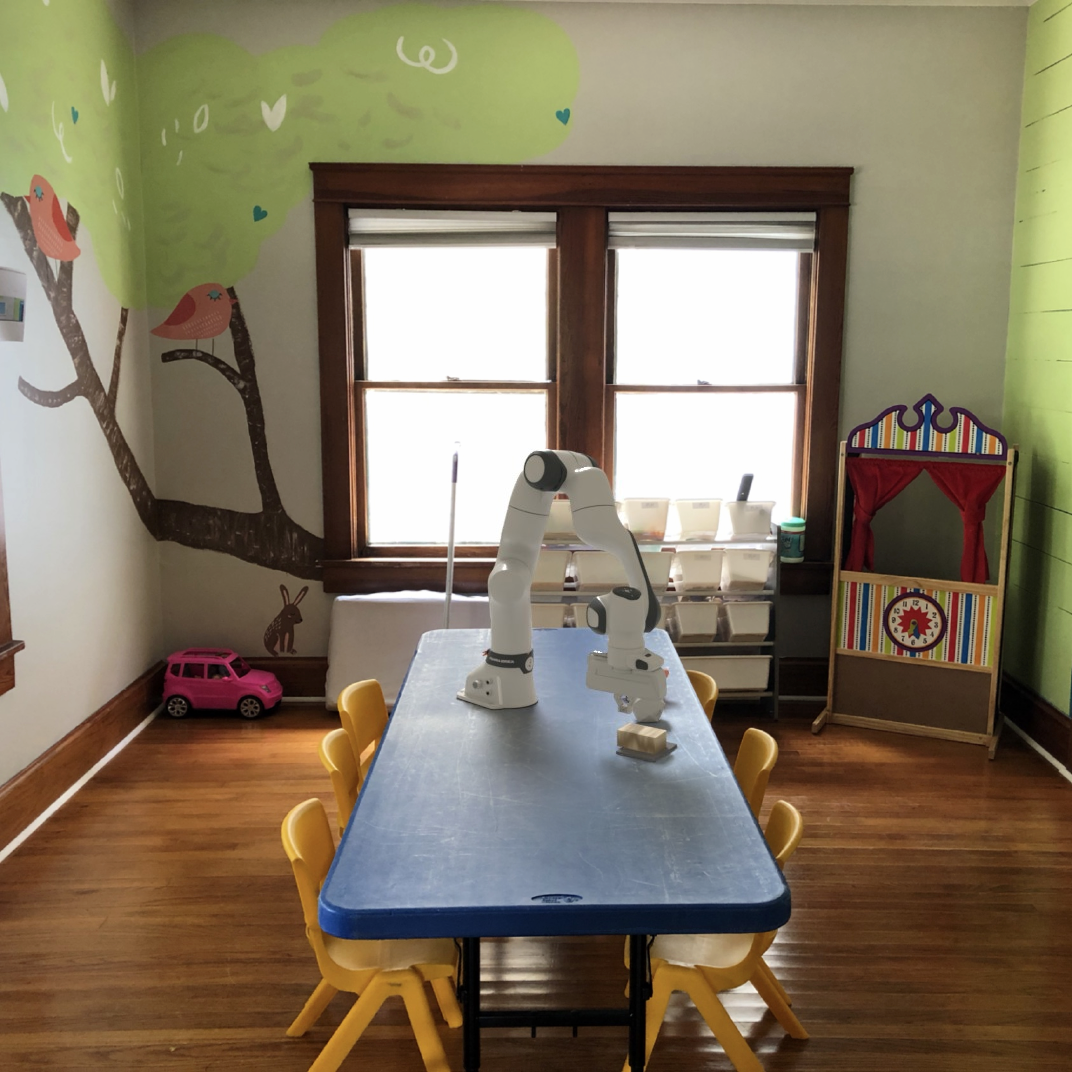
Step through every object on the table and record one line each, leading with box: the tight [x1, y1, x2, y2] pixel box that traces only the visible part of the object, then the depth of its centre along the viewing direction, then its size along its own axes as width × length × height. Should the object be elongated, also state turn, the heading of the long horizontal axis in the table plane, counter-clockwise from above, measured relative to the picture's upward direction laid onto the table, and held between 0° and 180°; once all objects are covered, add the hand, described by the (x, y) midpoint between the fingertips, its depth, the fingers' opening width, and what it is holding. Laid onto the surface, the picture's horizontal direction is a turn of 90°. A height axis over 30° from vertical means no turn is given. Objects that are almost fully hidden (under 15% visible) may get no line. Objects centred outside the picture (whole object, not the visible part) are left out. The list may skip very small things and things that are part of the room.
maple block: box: [616, 722, 668, 754], centre depth 248 cm, size 4×6×10 cm
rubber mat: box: [615, 741, 678, 763], centre depth 248 cm, size 10×12×1 cm
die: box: [632, 698, 667, 723], centre depth 268 cm, size 8×9×10 cm
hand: (624, 712), depth 250 cm, fingers closed
